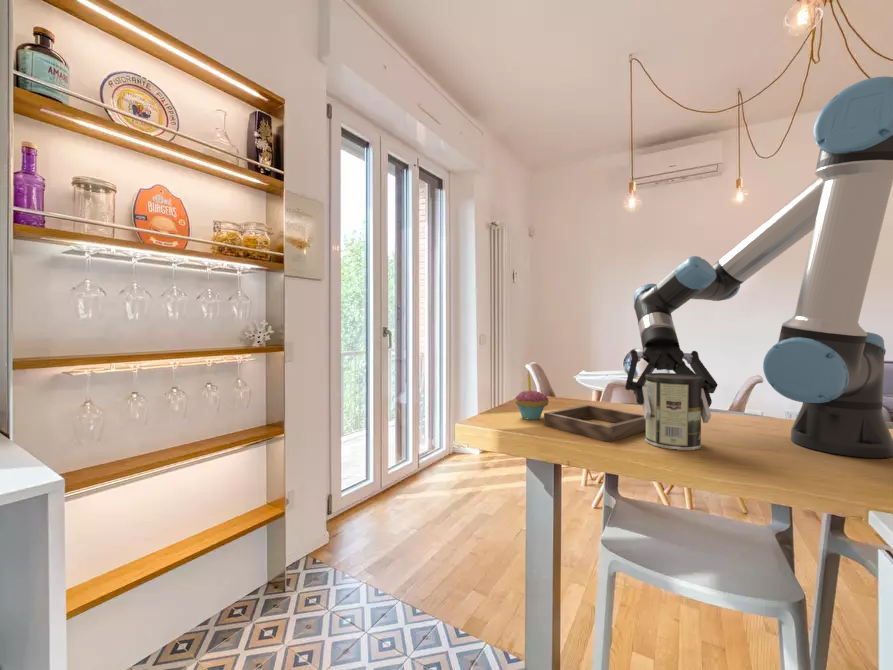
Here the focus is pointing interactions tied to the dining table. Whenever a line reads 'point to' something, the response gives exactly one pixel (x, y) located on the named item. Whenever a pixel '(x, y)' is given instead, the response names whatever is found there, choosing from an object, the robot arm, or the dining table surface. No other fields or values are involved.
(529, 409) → the cupcake
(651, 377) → the coffee can
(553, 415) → the dark brown wooden tray
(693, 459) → the dining table surface
